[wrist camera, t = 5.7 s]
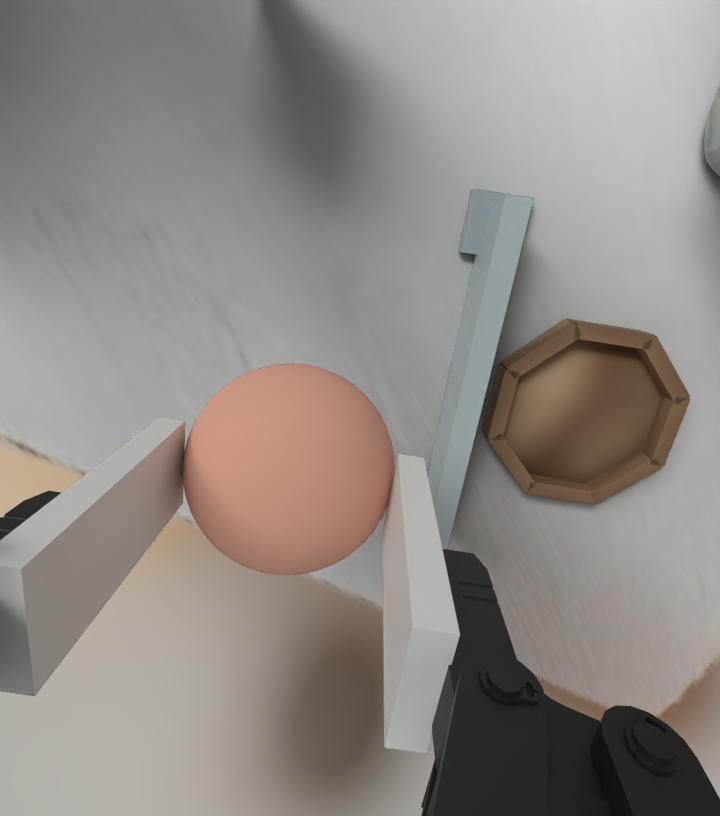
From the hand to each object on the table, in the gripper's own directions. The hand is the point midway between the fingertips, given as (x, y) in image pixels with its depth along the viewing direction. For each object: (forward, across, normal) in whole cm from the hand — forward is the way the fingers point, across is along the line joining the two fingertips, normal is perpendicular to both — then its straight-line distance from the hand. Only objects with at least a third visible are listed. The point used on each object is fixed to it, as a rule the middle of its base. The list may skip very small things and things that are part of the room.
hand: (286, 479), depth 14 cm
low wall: (+14, +7, +1) cm, 16 cm away
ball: (+4, 0, 0) cm, 4 cm away
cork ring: (+14, +14, 0) cm, 20 cm away
